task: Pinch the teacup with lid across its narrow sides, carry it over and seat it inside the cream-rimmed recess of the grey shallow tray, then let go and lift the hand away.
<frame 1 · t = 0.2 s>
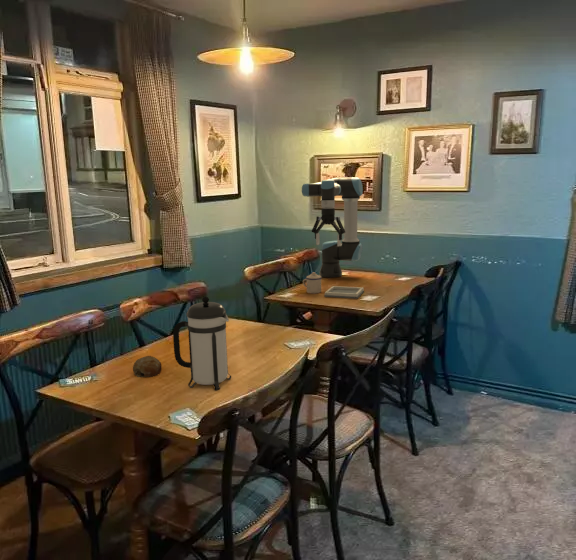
hand: (328, 245, 302), 27 cm above the table, tool pointing down, fingers open, 13 cm apart
teacup with lid: (311, 292, 310), on the table
coffee press: (206, 383, 178), on the table
grey shallow tray: (344, 294, 301), on the table
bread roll: (148, 373, 189), on the table
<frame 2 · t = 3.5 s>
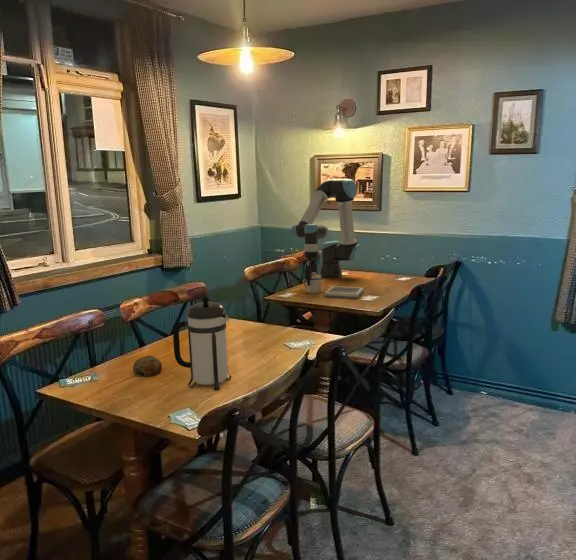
hand: (311, 289, 309), 2 cm above the table, tool pointing down, fingers closed on teacup with lid, 9 cm apart
teacup with lid: (311, 292, 310), on the table, touching gripper
everything else where it was.
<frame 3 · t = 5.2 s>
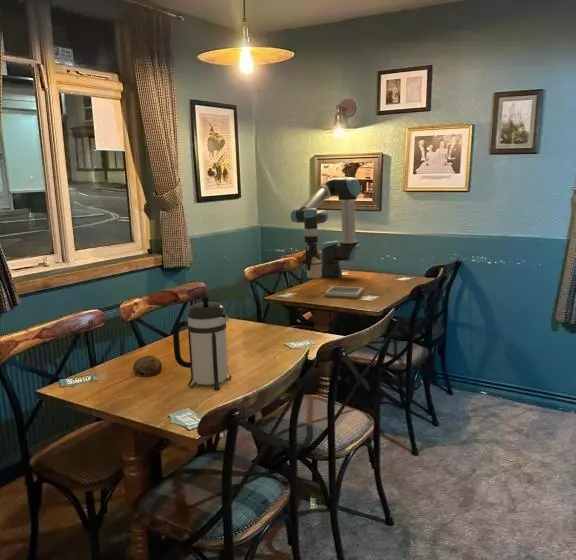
hand: (312, 273, 308), 11 cm above the table, tool pointing down, fingers closed on teacup with lid, 9 cm apart
teacup with lid: (312, 277, 309), point 9 cm above the table, touching gripper
everything else where it was.
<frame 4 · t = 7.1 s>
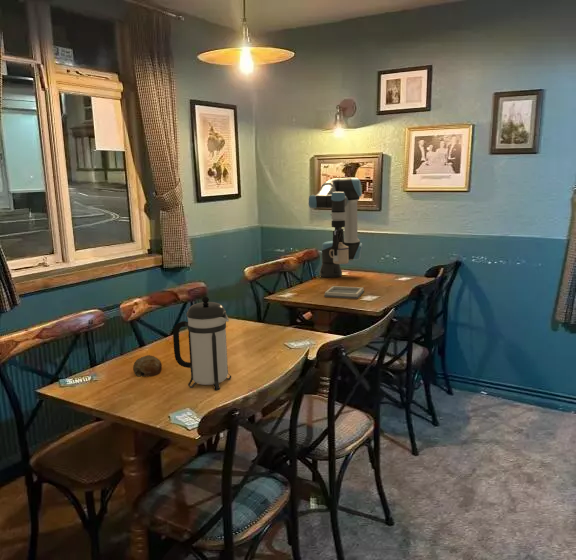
hand: (338, 259, 299), 20 cm above the table, tool pointing down, fingers closed on teacup with lid, 9 cm apart
teacup with lid: (338, 263, 300), point 18 cm above the table, touching gripper
everything else where it was.
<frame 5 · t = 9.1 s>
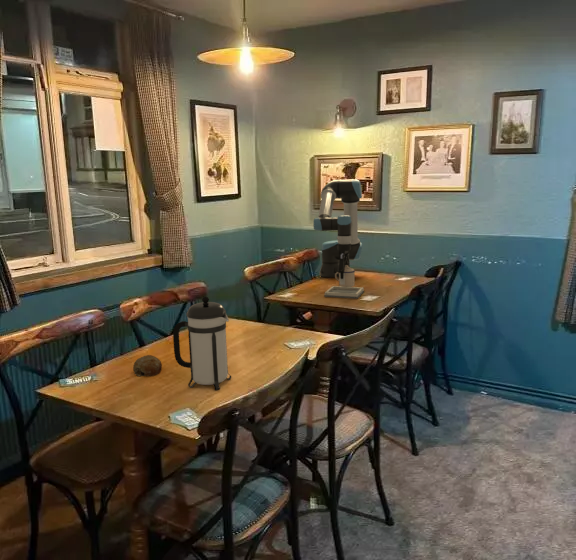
hand: (344, 282, 300), 7 cm above the table, tool pointing down, fingers closed on teacup with lid, 9 cm apart
teacup with lid: (344, 285, 301), point 5 cm above the table, touching gripper
everything else where it was.
when the fingers open (4 cm above the table, at t = 10.5 s): teacup with lid drops 1 cm, resting on grey shallow tray.
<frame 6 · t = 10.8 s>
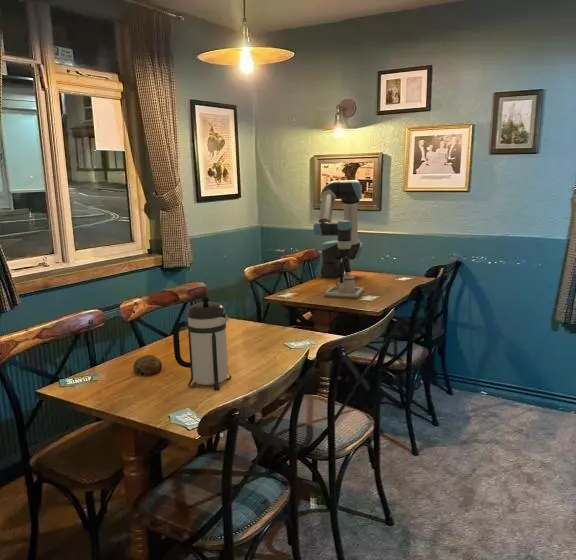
hand: (344, 286, 301), 5 cm above the table, tool pointing down, fingers open, 12 cm apart
teacup with lid: (344, 292, 302), point 1 cm above the table, touching grey shallow tray
everything else where it was.
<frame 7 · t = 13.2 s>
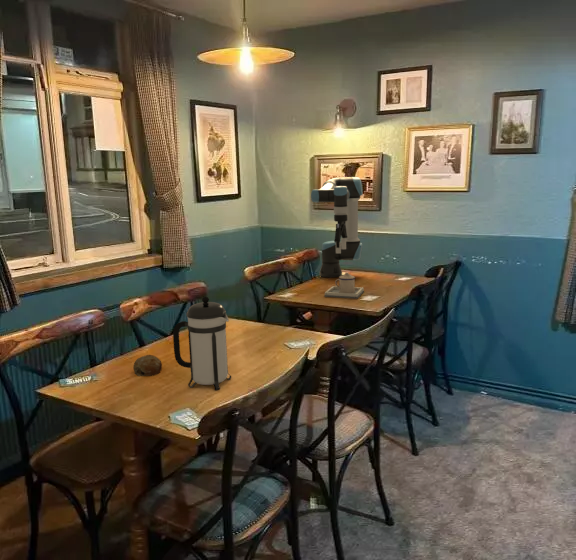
hand: (341, 251, 303), 24 cm above the table, tool pointing down, fingers open, 13 cm apart
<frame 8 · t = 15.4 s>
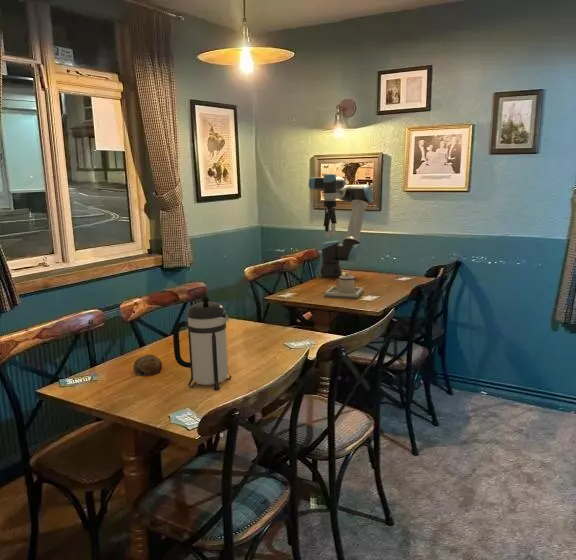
hand: (330, 235, 320), 31 cm above the table, tool pointing down, fingers open, 13 cm apart
at the end: teacup with lid 0.4 cm off-centre on the grey shallow tray, point 0.8 cm above the grey shallow tray's base; teacup with lid tilted 0°; the gripper is holding nothing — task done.
